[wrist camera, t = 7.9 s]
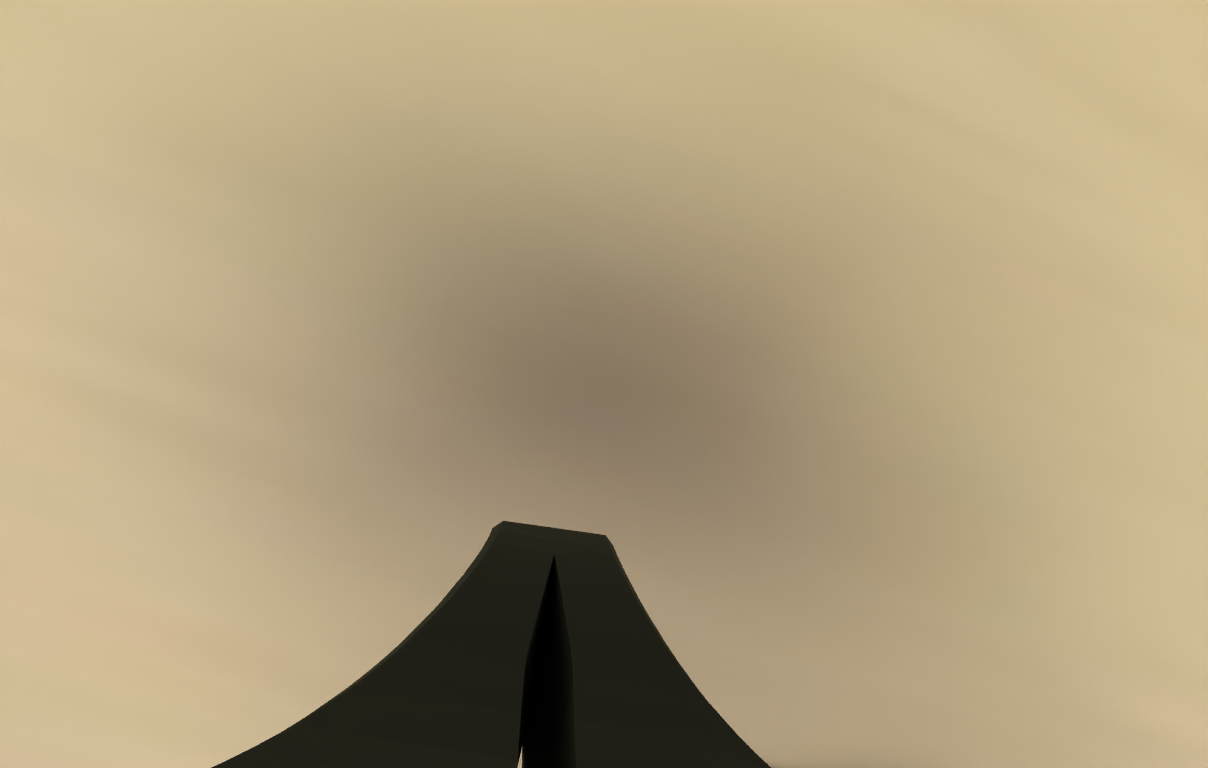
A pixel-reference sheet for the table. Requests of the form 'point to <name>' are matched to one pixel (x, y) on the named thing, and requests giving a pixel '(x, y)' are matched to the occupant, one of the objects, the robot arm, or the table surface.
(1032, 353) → the table surface
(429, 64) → the table surface
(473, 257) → the table surface
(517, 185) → the table surface
